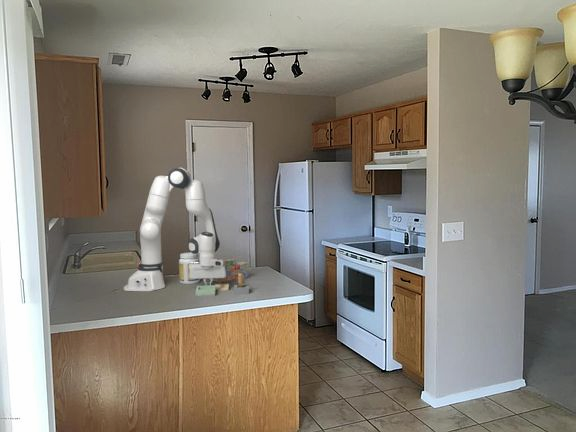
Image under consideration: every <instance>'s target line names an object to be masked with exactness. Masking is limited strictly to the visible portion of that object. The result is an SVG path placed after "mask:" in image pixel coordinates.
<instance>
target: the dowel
mask: <svg viewBox="0 0 576 432" xmlns="http://www.w3.org/2000/svg"><path fill="white" fill-rule="evenodd" d="M244 285H245V278H244V273H239V274H238V288H239V287H244Z"/></svg>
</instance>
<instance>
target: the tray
mask: <svg viewBox="0 0 576 432" xmlns="http://www.w3.org/2000/svg"><path fill="white" fill-rule="evenodd" d="M216 292H217V290H216V285H213V284H211V285H207V286H206V285H197V286H196V289H195V297H208V296H209V297H212V296H213V297H214V296H216Z"/></svg>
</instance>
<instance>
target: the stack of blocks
mask: <svg viewBox="0 0 576 432" xmlns="http://www.w3.org/2000/svg"><path fill="white" fill-rule="evenodd" d="M222 260H223V261H224V265H225V268H226V277H225V278H213V281H212V282H215V281H216V282H215V283H223V282H222V281H224V282H229V281H228V280H231V281H234V280H233V279H237V277H238V274H239V273H244V279H247V278H249V277H250V273H249V270H250V269H249V267H250V266H249V262H246V261H237V262H236V259H234V258H223V259H222Z"/></svg>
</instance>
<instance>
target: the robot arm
mask: <svg viewBox="0 0 576 432" xmlns="http://www.w3.org/2000/svg"><path fill="white" fill-rule="evenodd" d="M175 188H177V189H181V190H184V194H185V207H186V210H187V211H188V212H189V214H191V215H192V216H196V217H198V218H201V220H203V221H204V225H205V230H206V231H203V232H200V233H199V234H198V235H197V236H194V237H191V238H190V239H189V241H188V242H187V243H188V245H187V247H188V251H189V253H192V254H198V255H199V260H200V262H191V263H190V264H189V270H190V275H189V277H190V279H200V280H201V279H203V283H204V285H205V286H207V285H212V282H214V281H213V278H225V277H226V268H225V265H224V261H223V259H221V258H218V257H216V252H217V251H218V250H219V248H220V245H221V243H220V239H219V237H218V233H217V228H216V223H215V220H214V219H215V218H214V214H213V212H212V209H211V208H210V207H208V204H207V202H206V192H205V187H204V183H203V182H202V180H199V179H192V178H191V175H190V173H189V170H186V169H185V168H183V167H175V168H172V169H171V170H169V172H168V175H157V176H155V178H154V180H153V181H152V184H151V186H150V189H149V192H148V197H147V200H146V203H145V204H146V205H145V209H144V212H143V216H142V220H141V223H140V227H139V240H140V255H141V256H140V258H141V259H140V260H141V262H139V263H138V264H137V269H138V270H136V271H135V272H134V273H133V274H131V275H130V276H129V278H128V280H127V284H126V285H125V286H124V287H123V291H126V292H152V291H156V290H161V289H164V288H165V287H166V284H165V280H164V274H163V272H164V265H163V264H164V263H163V260H162V259H163V258H162V231H161V230H162V229H161V228H162V224H163V222H164V218H165V214H166V212H167V207H168V204H169V199H170V196H171V192H172V190H173V189H175ZM208 279H209V280H210V281H209V282H207V280H208Z"/></svg>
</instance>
